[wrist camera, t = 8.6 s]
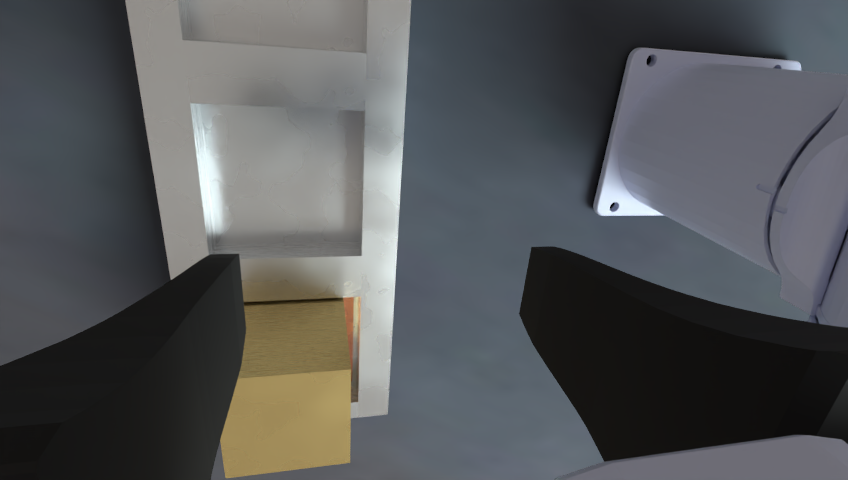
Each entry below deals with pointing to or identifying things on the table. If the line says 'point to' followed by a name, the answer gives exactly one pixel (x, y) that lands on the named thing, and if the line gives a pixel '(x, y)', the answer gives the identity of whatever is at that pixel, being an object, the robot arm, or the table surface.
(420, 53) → the table surface
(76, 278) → the table surface
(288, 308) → the brass block
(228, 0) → the rail
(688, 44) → the table surface
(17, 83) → the table surface
